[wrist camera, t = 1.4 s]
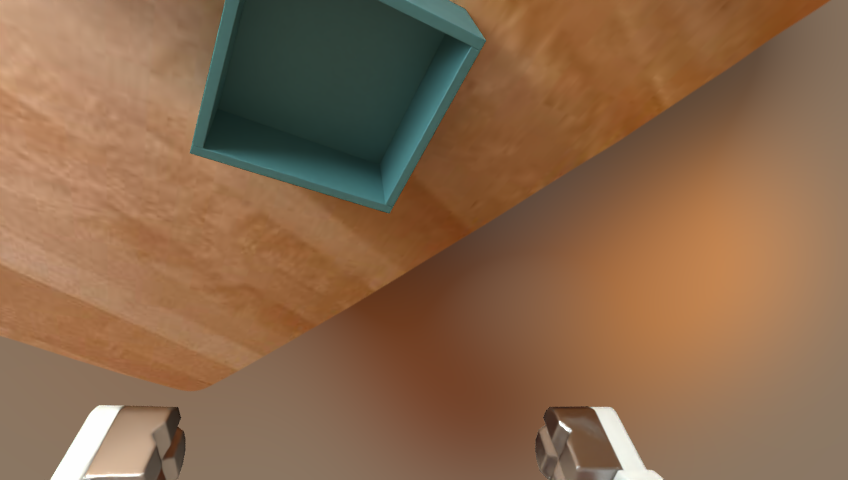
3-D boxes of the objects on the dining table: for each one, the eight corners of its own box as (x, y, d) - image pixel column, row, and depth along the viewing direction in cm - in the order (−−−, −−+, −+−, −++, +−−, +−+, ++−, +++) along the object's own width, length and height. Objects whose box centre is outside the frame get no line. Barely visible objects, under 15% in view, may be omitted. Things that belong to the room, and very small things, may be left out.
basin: (257, -100, 33) (244, -82, 28) (465, 9, 40) (486, 40, 34) (206, 109, 42) (189, 153, 37) (383, 169, 49) (389, 213, 43)
